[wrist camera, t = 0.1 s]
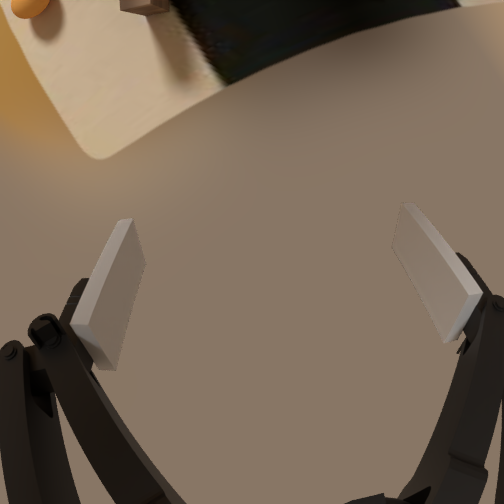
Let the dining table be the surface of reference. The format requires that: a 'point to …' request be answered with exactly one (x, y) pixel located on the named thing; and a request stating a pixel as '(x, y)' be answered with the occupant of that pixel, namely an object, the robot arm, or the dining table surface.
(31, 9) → the ball
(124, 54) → the dining table surface
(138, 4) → the bridge
